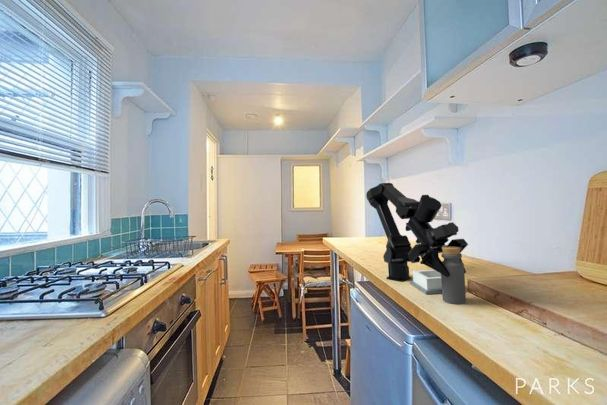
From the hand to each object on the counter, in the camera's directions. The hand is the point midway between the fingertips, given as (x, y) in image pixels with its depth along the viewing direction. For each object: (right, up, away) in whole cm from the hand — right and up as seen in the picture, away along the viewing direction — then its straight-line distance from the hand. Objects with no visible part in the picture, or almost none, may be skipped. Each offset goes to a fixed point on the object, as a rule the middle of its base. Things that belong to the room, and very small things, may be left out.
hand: (456, 274), depth 79 cm
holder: (+1, -8, +14) cm, 16 cm away
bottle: (0, -8, +1) cm, 8 cm away
